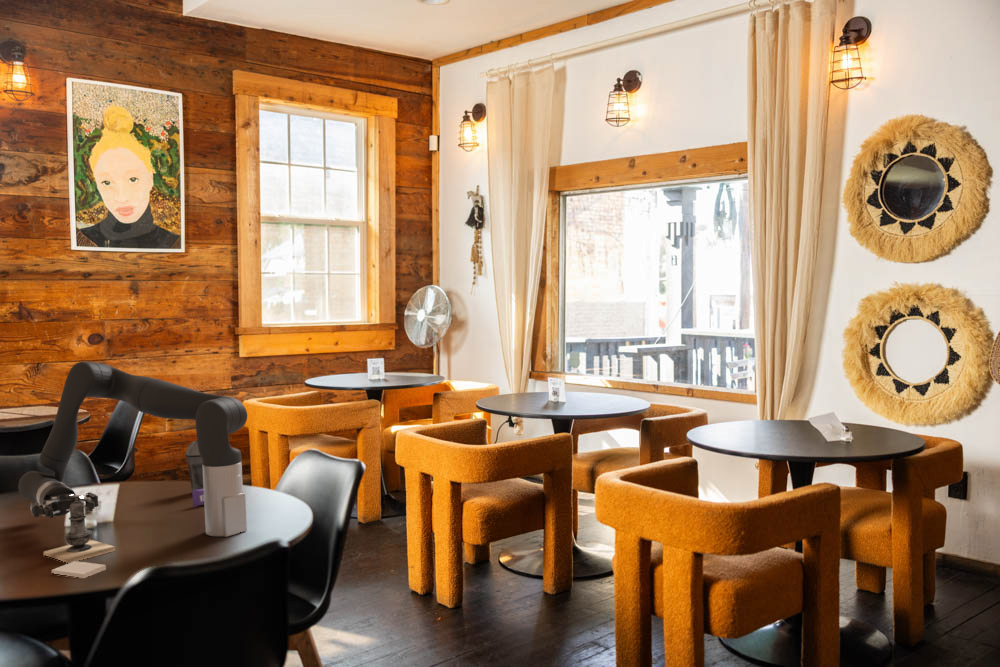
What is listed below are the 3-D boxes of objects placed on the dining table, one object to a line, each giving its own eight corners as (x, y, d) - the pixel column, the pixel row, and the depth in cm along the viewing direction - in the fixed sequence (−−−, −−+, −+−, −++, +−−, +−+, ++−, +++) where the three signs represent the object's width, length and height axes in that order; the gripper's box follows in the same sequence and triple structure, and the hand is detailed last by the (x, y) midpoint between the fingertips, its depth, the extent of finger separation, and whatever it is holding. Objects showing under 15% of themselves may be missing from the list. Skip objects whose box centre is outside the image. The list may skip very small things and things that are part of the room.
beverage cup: (186, 491, 260) (182, 425, 258) (211, 488, 263) (208, 423, 261) (188, 496, 253) (185, 428, 252) (214, 493, 256) (211, 426, 255)
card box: (106, 571, 189) (105, 564, 189) (83, 581, 183) (83, 574, 183) (74, 567, 192) (74, 561, 192) (52, 576, 186) (51, 569, 186)
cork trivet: (114, 550, 202) (114, 546, 202) (68, 563, 193) (67, 559, 193) (90, 543, 208) (89, 539, 208) (43, 555, 200) (43, 551, 200)
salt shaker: (83, 553, 198) (80, 501, 197) (59, 552, 198) (56, 500, 198) (98, 545, 203) (95, 494, 203) (75, 544, 204) (72, 494, 203)
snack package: (194, 508, 240) (193, 490, 239) (191, 507, 241) (190, 489, 241) (231, 499, 248) (231, 482, 248) (228, 498, 250) (227, 481, 249)
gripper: (22, 487, 212) (37, 499, 199) (85, 478, 221) (103, 489, 208) (24, 518, 212) (38, 532, 200) (87, 507, 221) (104, 520, 209)
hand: (71, 510), depth 204 cm, fingers open, 8 cm apart
